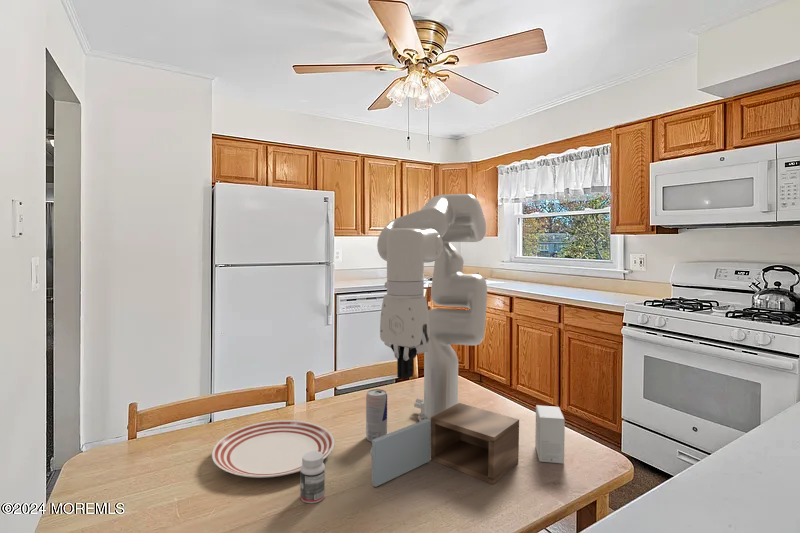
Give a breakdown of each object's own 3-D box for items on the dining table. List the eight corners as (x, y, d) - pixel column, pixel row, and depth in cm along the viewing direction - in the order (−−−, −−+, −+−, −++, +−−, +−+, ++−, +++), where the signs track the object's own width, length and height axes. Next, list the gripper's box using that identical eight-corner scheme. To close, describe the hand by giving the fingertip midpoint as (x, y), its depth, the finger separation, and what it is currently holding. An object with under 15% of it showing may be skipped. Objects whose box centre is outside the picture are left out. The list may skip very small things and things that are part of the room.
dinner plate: (355, 443, 109) (355, 430, 109) (283, 502, 84) (282, 486, 84) (270, 424, 121) (269, 412, 120) (183, 471, 96) (183, 456, 96)
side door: (422, 456, 101) (422, 417, 101) (430, 460, 100) (430, 420, 99) (367, 481, 91) (367, 437, 90) (375, 487, 89) (375, 441, 88)
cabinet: (430, 459, 101) (431, 417, 100) (458, 441, 110) (459, 402, 109) (493, 484, 90) (494, 437, 90) (518, 462, 100) (519, 419, 99)
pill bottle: (302, 490, 88) (301, 450, 88) (325, 489, 88) (325, 449, 88) (298, 504, 83) (298, 462, 83) (323, 503, 84) (323, 461, 83)
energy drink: (390, 435, 113) (390, 390, 113) (382, 444, 108) (382, 397, 108) (371, 432, 115) (371, 387, 114) (362, 441, 110) (362, 394, 109)
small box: (564, 464, 99) (565, 419, 98) (538, 462, 100) (539, 417, 99) (558, 448, 107) (559, 406, 106) (534, 446, 108) (535, 404, 107)
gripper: (366, 288, 91) (366, 374, 92) (423, 294, 81) (422, 390, 83) (390, 285, 97) (390, 366, 98) (446, 290, 87) (445, 380, 88)
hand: (405, 376), depth 90 cm, fingers closed
